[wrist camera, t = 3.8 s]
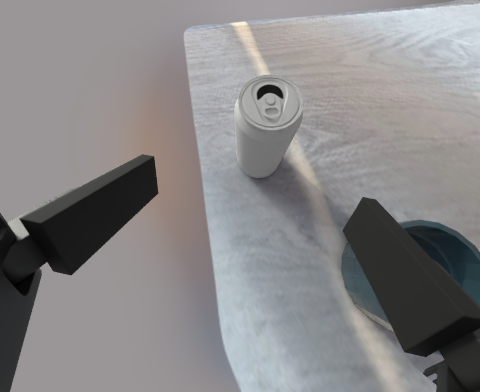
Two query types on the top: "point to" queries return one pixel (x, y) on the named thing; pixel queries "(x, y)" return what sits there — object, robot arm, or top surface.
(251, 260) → the top surface
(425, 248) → the bowl
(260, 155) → the beverage can
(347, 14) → the top surface
